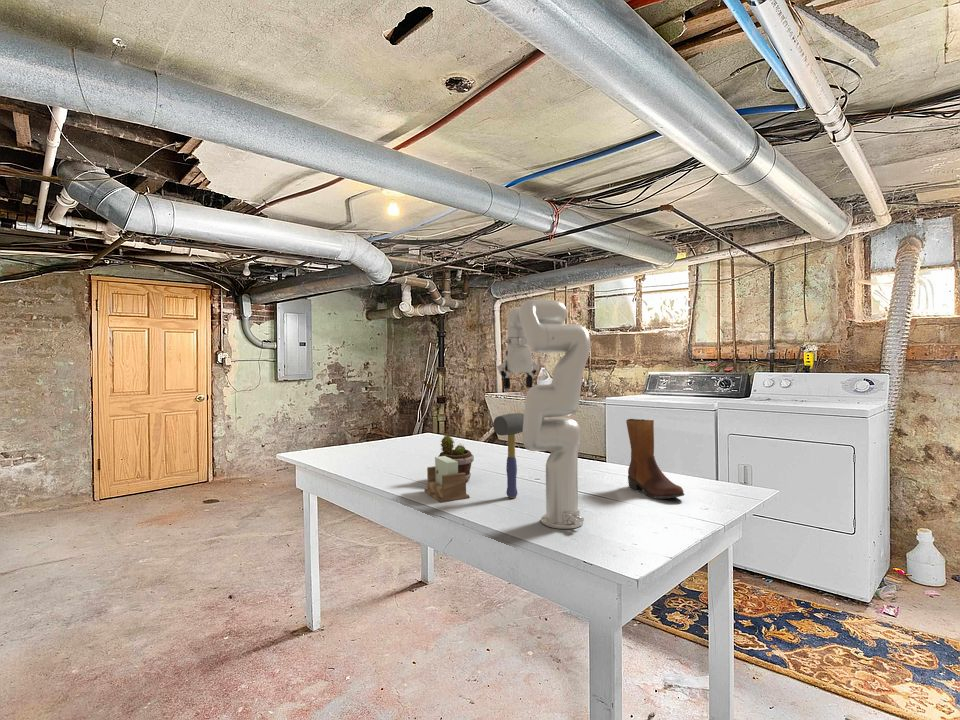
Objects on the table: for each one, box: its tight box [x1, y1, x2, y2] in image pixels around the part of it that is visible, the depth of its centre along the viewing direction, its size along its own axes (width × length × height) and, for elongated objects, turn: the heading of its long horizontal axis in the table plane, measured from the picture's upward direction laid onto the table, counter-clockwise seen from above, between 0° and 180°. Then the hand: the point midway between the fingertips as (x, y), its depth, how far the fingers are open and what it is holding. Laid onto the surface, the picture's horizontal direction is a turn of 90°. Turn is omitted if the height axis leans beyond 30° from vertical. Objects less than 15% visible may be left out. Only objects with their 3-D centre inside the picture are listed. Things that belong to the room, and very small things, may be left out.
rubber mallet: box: [492, 412, 524, 499], centre depth 179 cm, size 12×8×30 cm, turn 135°
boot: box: [625, 418, 685, 500], centre depth 182 cm, size 25×9×27 cm, turn 17°
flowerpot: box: [437, 432, 475, 483], centre depth 203 cm, size 14×15×20 cm
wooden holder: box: [424, 465, 470, 503], centre depth 184 cm, size 16×11×9 cm
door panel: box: [434, 456, 458, 486], centre depth 184 cm, size 12×4×12 cm, turn 27°
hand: (518, 388), depth 190 cm, fingers open, 9 cm apart
